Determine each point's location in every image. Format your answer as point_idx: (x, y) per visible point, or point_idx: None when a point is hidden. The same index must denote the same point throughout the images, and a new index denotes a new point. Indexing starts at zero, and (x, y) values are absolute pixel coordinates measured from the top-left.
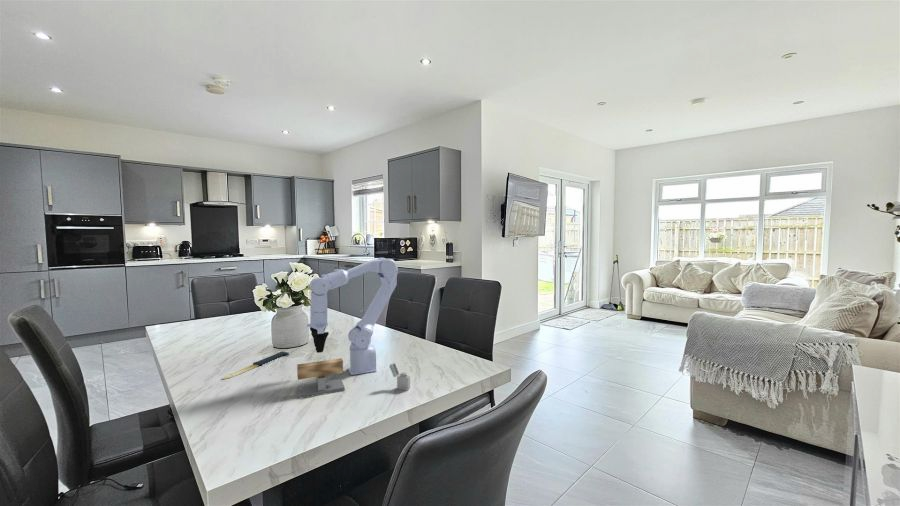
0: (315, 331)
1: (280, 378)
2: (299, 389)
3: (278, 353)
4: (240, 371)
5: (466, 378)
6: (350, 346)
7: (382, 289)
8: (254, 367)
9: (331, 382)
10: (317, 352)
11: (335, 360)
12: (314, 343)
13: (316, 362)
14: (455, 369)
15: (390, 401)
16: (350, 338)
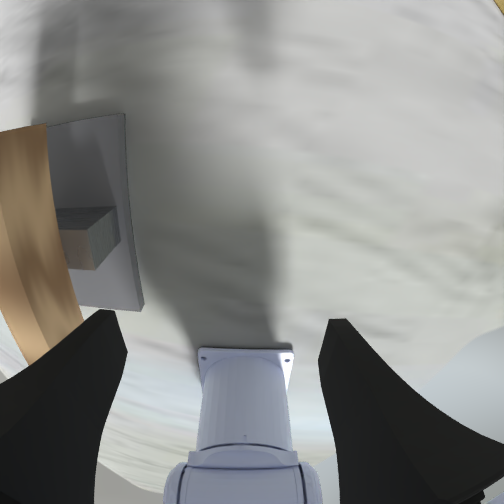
0: (379, 485)
1: (332, 34)
2: (72, 127)
3: None
4: None
5: (115, 464)
6: (254, 452)
7: None
8: (499, 6)
9: (108, 270)
10: (99, 314)
11: (38, 356)
12: (340, 340)
13: (7, 264)
14: (162, 474)
15: (13, 357)
16: (267, 490)
